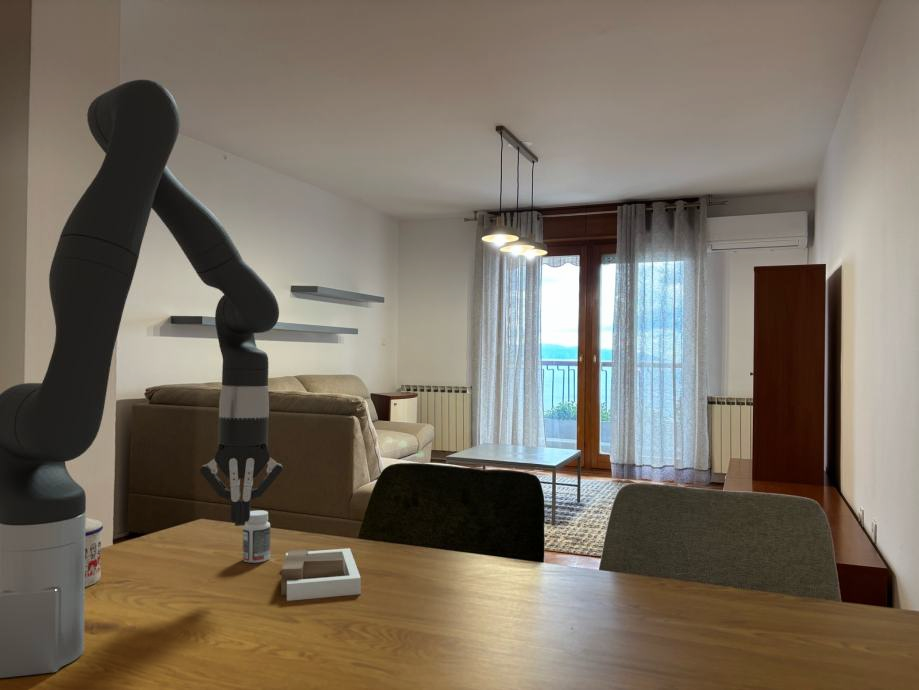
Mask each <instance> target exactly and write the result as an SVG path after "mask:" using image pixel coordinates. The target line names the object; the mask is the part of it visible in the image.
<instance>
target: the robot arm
mask: <svg viewBox="0 0 919 690" xmlns="http://www.w3.org/2000/svg"><path fill="white" fill-rule="evenodd" d="M86 114H87V125H88V128H89V131H90V133H91V136H92V137H93V138H94V140H95V141H96V143H97V144H98V145H99V147H100V148H101V150H102V151H103V152H104V153H105V156H104V159H103V161H102V162H101V163H102V164H101V166H100V168H99V170H98V172H97V173H96V175H95V177H94V178H93V180H92V181H91V182H90V184H89V186H88V187H87V188H86V190H85V191H84V193H83V194H82V195H81V196H80V199H79V200H78V201H77V203H76V205H75V206H74V207H73V209H72V211H71V213H70V215H69V216H68V217H67V219H66V222H65V224H64V226H63V227H62V230H61V233H60V234H59V235H60V236H59V239H58V242H57V245H56V248H55V252H54V254H53V257H52V258H53V259H52V261H51V265H50V269H49V275H48V283H49V284H48V286H49V295H50V301H51V305H52V311H53V316H54V321H55V322H54V323H55V324H54V325H55V337H54V338H55V339H54V344H53V349H52V353H51V357H50V360H49V363H48V366H47V369H46V372H45V374H44V378H43V380H42V382H27V383H19V384H15V385H13V386H11V387H9V388H7V389H5V390H4V391H2V392H1V393H0V679H2V678H14V677H23V676H32V675H42V674H49V673H50V674H51V673H55V672H56V673H57V672H58V671H59V670H60V668H62V667H64V666H66V665H68V664H70V663H72V662H74V661H75V660H78V658H80V657H81V656H82V654H83V653H84V651H85V597H86V595H85V590H86V589H85V588H86V587H85V525H86V516H87V513H86V509H87V507H86V506H87V495H86V492H85V490H84V488H83V487H82V486H81V485H80V484H79V483H77V482H76V480H74V479H73V478H72V476H71V474H70V473H69V471H68V469H67V466H66V465H67V464H66V462H70V461H73V460H75V459H77V458H79V457H81V456H82V455H83V454H85V452H87V450H88V449H89V448H90V447H91V446H92V444H93V443H94V442H95V440H96V438H97V435H98V434H99V431H100V428H101V425H102V424H101V423H102V420H103V415H104V412H105V411H104V410H105V404H106V397H107V392H108V386H109V377H110V371H111V367H112V359H113V356H114V349H115V345H116V342H117V337H118V334H119V330H120V326H121V323H122V322H121V321H122V318H123V313H124V309H125V305H126V302H127V300H128V299H127V298H128V295H129V292H130V289H131V287H132V283H133V280H134V275H135V272H136V269H137V265H138V261H139V258H140V252H141V248H142V247H141V246H142V243H143V240H144V236H145V233H146V228H147V225H148V222H149V219H150V215H151V211H154V213H155V214H156V215H157V217H158V218H159V219H160V220H161V221H162V223H163V224H164V225H165V227H166V228H167V229H168V231H169V233H171V235H172V237H173V238H174V240H175V241H176V242H177V244H178V246H179V247H180V249H181V250H182V252H183V253H184V255H185V257H186V258H187V260H188V262H189V263H190V264H191V266H192V268H193V269H194V271H195V273H196V274H197V276H198V277H199V279H200V280H201V282H203V283H204V284H205V285H206V286H207V287H211V288H214V289H217V290H219V291H221V293H222V294H223V295H222V296H221V297H220V299H219V300H218V302H217V305H216V307H215V314H214V315H215V317H214V320H215V323H214V324H215V329H216V330H215V331H216V335H217V341H218V344H219V349H220V353H221V356H222V357H221V358H222V371H221V372H222V373H221V375H222V376H221V391H220V396H219V407H218V408H219V409H218V431H217V433H218V434H217V436H218V439H217V450H216V452H214V455H213V459H212V460H210V461H209V462H208V463H206V464H205V463H204V464H203V465H202V466H201V467H200V469H199V472H200V474H201V475H202V477H204V479H205V480H206V481H207V483H208V484H209V485H210V487H212V490H214V491H215V493H216V494H217V495H218V496H219V497H220V498H221V499H225V500H229V502H230V521H231V523H234V526H237V527H238V526H240V527H241V526H244V525H245V523H246V522H247V521H249V518H250V511H251V501H253V499H256V498H260V497H262V496H263V494H264V493H266V491H267V490H268V488H269V487H270V486H271V485H272V483H273V482H274V481H275V480H276V479H277V478H278V476H280V474H281V473H282V472H283V465H282V463H278V462H277V461H276V460H275V459H273V458H272V457H271V452H270V450H269V446H268V444H269V441H268V440H269V418H270V417H269V413H270V398H269V397H270V396H269V387H268V385H269V357H268V354H267V353H266V351H264V350H262V349H261V348H260V349H259V348H258V347H257V344H256V339H255V334H262V333H267V332H268V331H270V330H272V329H273V328H275V326H277V325H276V324H277V323H278V320H279V318H280V317H279V316H280V307H279V304H278V301H277V298H276V296H275V294H274V292H273V291H272V290H271V288H270V287H269V286H268V285H267V283H266V282H265V281H264V280H263V279H262V278H261V277H260V275H258V273H256V272H255V270H254V269H253V268H252V267H251V266H250V265H249V264H248V263H247V262H246V261H245V260H244V259H243V258H242V256H241V253H240V252H239V250H238V249H237V246H236V245H235V243H234V242H233V239H232V238H231V236H230V235H229V233H228V231H227V230H226V228H225V226H224V225H223V224H222V223H221V221H220V220H219V218H217V216H216V215H215V214H214V213H213V212H212V211H211V210H210V209H209V208H208V207H207V206H206V205H205V204H204V203H202V201H200V200H199V199H198V198H196V196H194V194H192V193H191V192H190V191H189V190H188V189H187V188H186V187H184V186H183V184H182V183H181V182H180V181H179V180H178V179H177V178H176V176H175V175H174V174H173V172H172V171H171V170H170V169H169V167H168V165H167V164H168V160H169V159H170V156H171V153H172V151H173V150H174V146H175V144H176V143H177V139H178V136H179V133H180V126H181V123H180V122H181V120H180V119H181V118H180V111H179V108H178V105H177V103H176V101H175V99H174V96H173V95H172V94H171V92H170V91H169V90H168V89H167V88H166V87H165V86H163V85H162V84H160V83H158V82H156V81H155V80H154V81H153V80H150V79H135V80H130V81H127V82H125V83H122V84H120V85H117V86H115V87H114V88H112V89H110V90H108V91H105V92H104V93H102V94H100V95H99V96H97V97H96V98H95V99H93V101H92V102H91V103H90V105H89V106H88V109H87V113H86ZM266 465H267V468H266V473H267V475H266V476H265V477H264V478H263V479H262V481H261V482H260V483H259V484H258V485H257V487H255V488H253V482H254V479H255V478H257V476H258V475H260V473H261V472H262V470H263V469H264V468H265V467H266ZM217 466H218V467H219V469H220V471H222V473H223V474H224V476H225V477H226V478H228V479H229V483H230V484H229V486H230V489H229V488H227V486H226V485H225V484H224V482H223V481H222V480H221V478H219V476H218V475H217V474H218V467H217ZM241 479H244V480H243V490H242V497H241V485H240V484H241Z"/></svg>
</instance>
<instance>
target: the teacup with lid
mask: <svg viewBox="0 0 919 690" xmlns="http://www.w3.org/2000/svg"><path fill="white" fill-rule="evenodd" d="M103 529H104V526H103V523H102V522H101V521H100V520H97V519H94V518H93V519H92V518H89V517H86V525H85V588H87V587H89V586H92V585H94V584H96V583H98V582H99V580H100V579H101V574H102V573H101V572H102V571H101V569H102V564H101V563H102V531H103Z"/></svg>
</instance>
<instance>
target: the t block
mask: <svg viewBox="0 0 919 690" xmlns="http://www.w3.org/2000/svg"><path fill="white" fill-rule="evenodd" d="M308 551H309V550H308V549H306V548H305V549H290V550H289V551H288V552H287V553H288V555H287V558H286V557H285V560H284V563H283V565H282V567H281V585H280V586H281V589H280V591H281V596H287V581H289V580H301V579H314V578H326V577H338V576H344V571H343V554H341V555H312V556H308Z"/></svg>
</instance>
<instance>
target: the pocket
mask: <svg viewBox="0 0 919 690" xmlns="http://www.w3.org/2000/svg"><path fill="white" fill-rule="evenodd" d="M288 553H289V552H285V559H286V558H287V555H288ZM341 554H343V576H338V577H326V578H314V579H301V580H289V581H287V595H286V602H289V601H299V600H310V599H321V598H322V599H323V598H333V597H334V598H335V597H342V596H343V597H344V596H345V597H346V596H354V595H361V592H362V588H361V586H362V585H361V584H362V583H361V582H362V579H361V575H360V571H359V569H358V567H357V564H356V561H355V559H354V558H355V557H354V556H353V553H352V551H351V548H349V547H347V548H338V549H337V548H336V549H335V548H334V549H323V550H308V556H312V555H341Z"/></svg>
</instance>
